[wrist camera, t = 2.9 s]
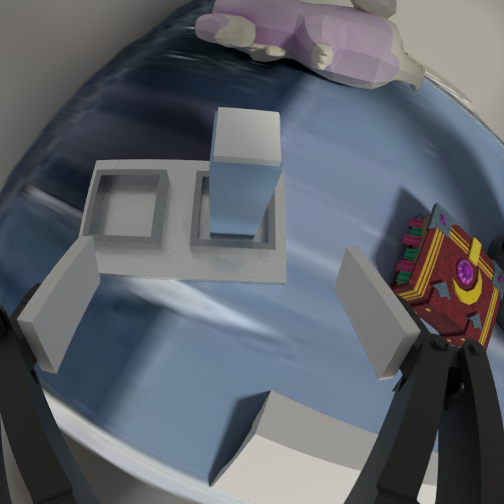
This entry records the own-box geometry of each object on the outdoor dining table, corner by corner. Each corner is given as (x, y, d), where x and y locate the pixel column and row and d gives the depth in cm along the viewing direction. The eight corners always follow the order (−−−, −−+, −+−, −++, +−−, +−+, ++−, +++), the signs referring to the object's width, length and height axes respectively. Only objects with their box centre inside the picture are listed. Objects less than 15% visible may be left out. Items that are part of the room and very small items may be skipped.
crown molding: (208, 485, 22) (209, 502, 19) (269, 387, 26) (277, 394, 22) (408, 527, 21) (422, 536, 18) (454, 454, 25) (471, 459, 22)
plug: (254, 191, 29) (281, 101, 17) (253, 238, 27) (285, 164, 15) (213, 188, 28) (216, 95, 16) (209, 235, 27) (209, 158, 15)
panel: (281, 172, 31) (288, 156, 28) (283, 284, 28) (292, 278, 25) (99, 166, 29) (90, 150, 26) (78, 273, 26) (64, 265, 22)
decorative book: (461, 356, 28) (489, 355, 24) (375, 287, 29) (401, 278, 25) (484, 282, 32) (509, 274, 27) (409, 210, 33) (433, 193, 28)
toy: (378, 73, 46) (224, 39, 45) (403, 0, 32) (235, -40, 31) (430, 154, 29) (170, 95, 28) (488, 31, 15) (177, -56, 14)
